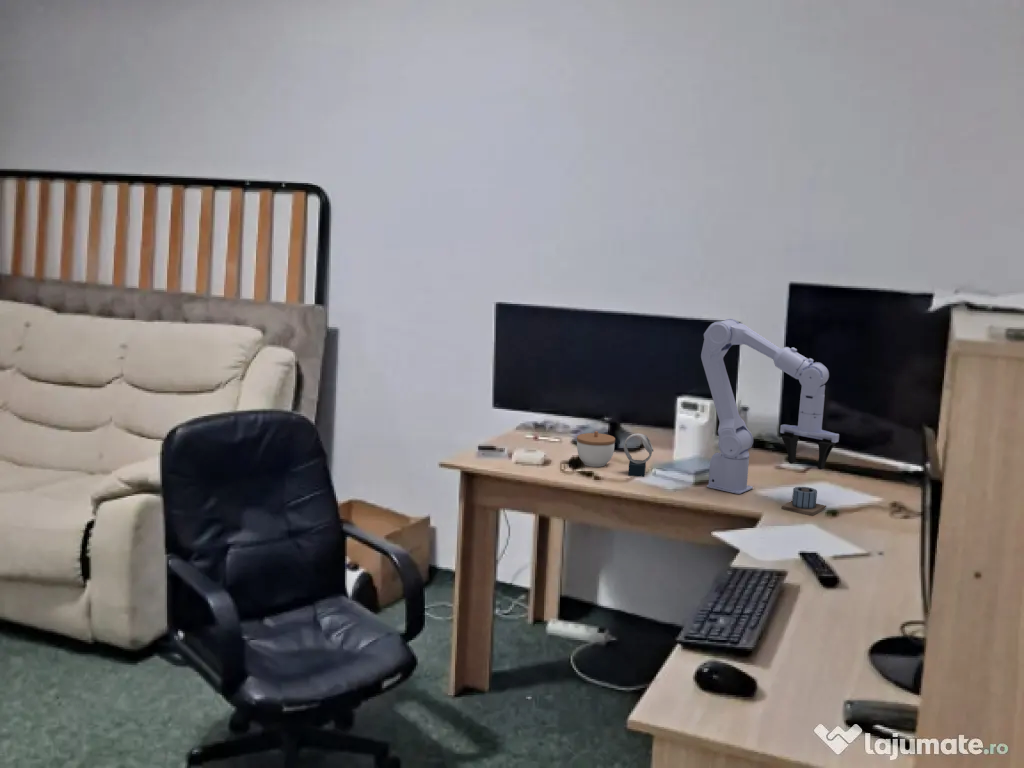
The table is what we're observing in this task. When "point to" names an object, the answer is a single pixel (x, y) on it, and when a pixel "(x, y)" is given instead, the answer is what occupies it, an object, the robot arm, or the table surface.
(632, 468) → the watch
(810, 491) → the collar
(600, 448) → the lidded jar
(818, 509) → the shaft base
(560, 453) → the table surface
